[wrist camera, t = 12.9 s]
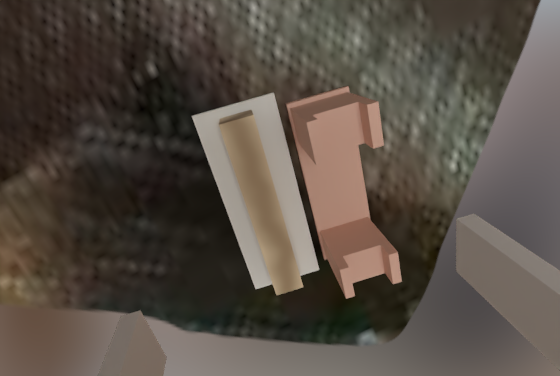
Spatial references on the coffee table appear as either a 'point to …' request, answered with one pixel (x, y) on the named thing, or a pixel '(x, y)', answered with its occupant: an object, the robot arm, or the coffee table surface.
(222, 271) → the coffee table surface
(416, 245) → the coffee table surface
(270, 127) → the mat
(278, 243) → the rail
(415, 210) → the coffee table surface
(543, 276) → the robot arm
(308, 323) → the coffee table surface
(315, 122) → the stand
